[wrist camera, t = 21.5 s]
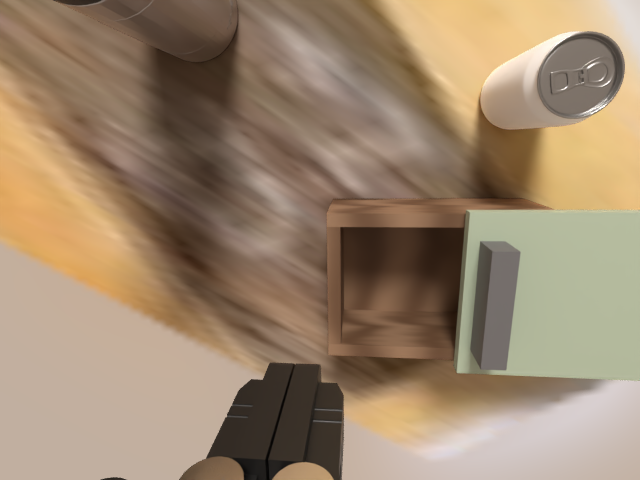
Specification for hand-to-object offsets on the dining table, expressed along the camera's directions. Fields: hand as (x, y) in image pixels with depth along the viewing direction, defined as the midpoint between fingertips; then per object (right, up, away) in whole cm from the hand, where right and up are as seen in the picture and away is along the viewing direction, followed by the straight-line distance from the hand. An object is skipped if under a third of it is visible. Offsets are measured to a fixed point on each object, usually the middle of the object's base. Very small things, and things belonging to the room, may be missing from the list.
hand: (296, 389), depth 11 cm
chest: (+12, +2, +31) cm, 34 cm away
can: (+20, +19, +27) cm, 38 cm away
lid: (+23, 0, +21) cm, 31 cm away
